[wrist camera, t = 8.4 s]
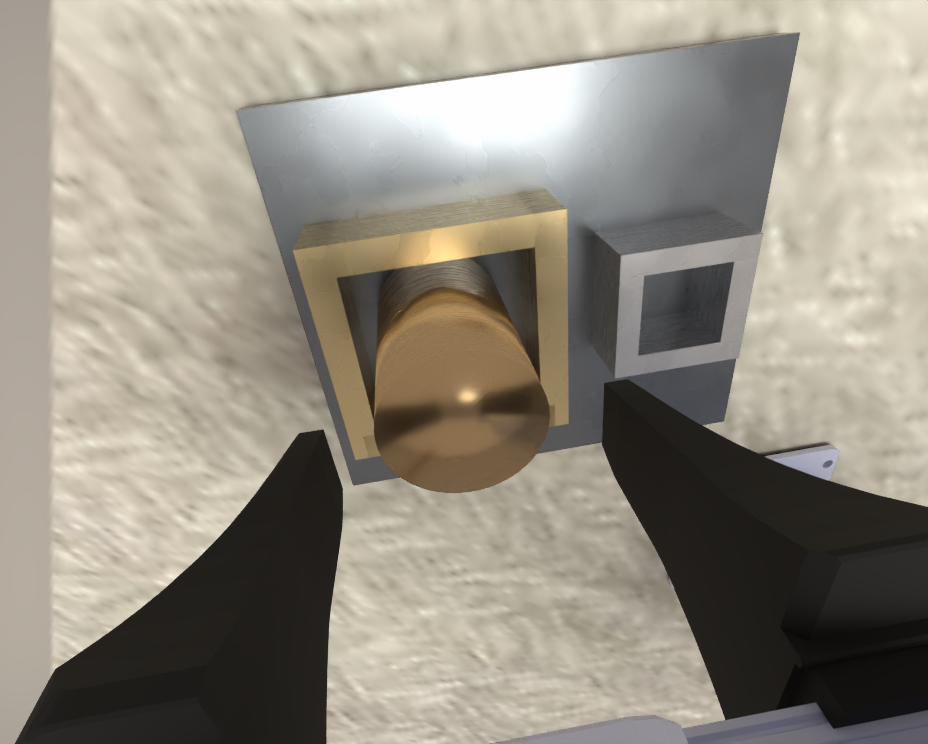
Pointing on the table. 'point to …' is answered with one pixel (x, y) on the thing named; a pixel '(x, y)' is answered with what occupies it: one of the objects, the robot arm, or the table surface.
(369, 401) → the fitting plate
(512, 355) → the cylindrical peg
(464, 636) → the table surface
